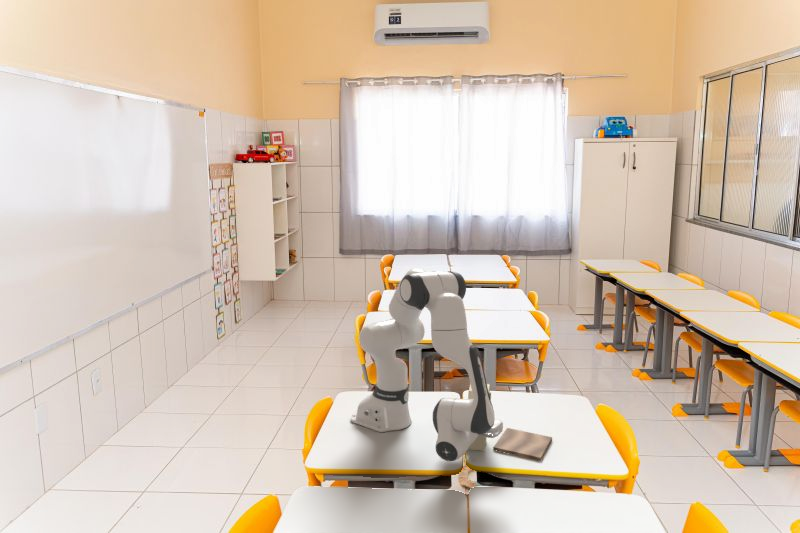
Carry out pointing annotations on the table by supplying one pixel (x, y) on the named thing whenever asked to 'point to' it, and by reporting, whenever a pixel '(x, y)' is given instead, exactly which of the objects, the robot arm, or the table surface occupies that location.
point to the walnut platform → (523, 444)
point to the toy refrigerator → (480, 441)
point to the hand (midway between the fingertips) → (478, 413)
